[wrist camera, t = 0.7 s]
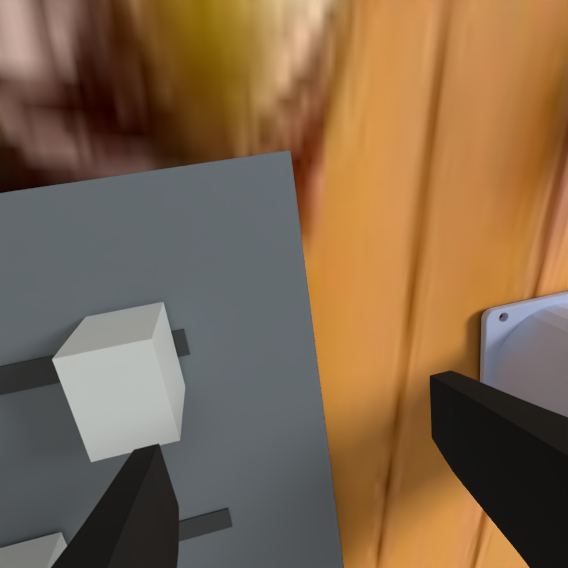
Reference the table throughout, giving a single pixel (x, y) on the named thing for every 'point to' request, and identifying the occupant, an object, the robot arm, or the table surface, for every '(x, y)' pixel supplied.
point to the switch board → (190, 350)
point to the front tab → (123, 381)
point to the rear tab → (33, 552)
